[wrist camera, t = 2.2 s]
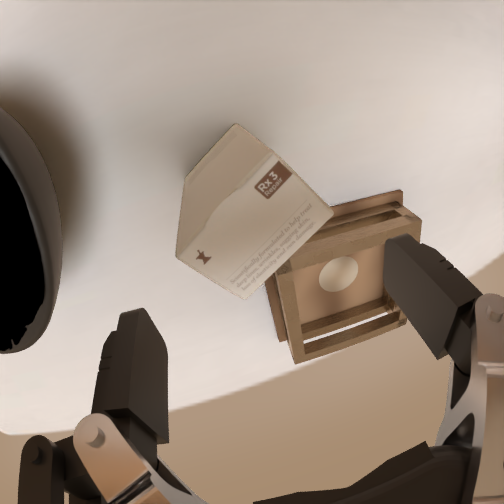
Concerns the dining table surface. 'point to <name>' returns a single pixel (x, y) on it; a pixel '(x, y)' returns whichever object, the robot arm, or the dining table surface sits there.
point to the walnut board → (337, 275)
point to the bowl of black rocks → (26, 239)
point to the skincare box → (244, 213)
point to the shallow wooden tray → (331, 247)
